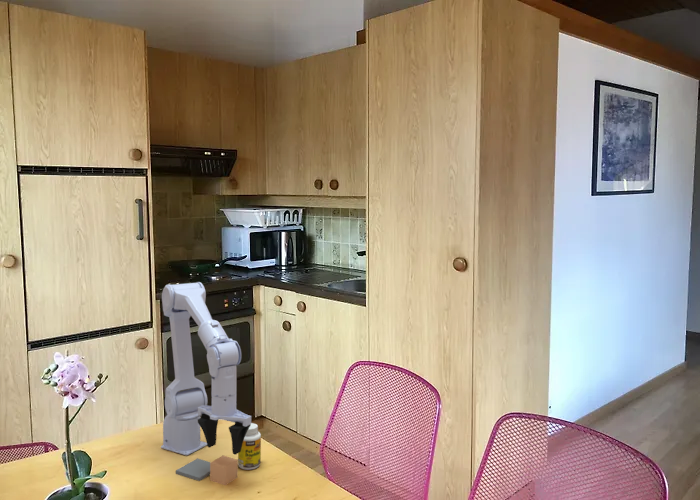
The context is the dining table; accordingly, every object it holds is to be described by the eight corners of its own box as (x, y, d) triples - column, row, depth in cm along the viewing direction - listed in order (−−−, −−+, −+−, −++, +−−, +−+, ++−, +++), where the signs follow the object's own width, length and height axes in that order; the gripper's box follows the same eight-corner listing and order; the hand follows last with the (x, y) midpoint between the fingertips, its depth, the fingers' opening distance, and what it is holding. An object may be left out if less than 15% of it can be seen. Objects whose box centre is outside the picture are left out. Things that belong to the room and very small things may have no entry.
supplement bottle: (243, 472, 140) (243, 432, 139) (234, 463, 144) (234, 424, 144) (264, 467, 143) (264, 427, 142) (255, 458, 148) (255, 420, 147)
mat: (175, 473, 139) (175, 470, 139) (197, 461, 145) (197, 458, 145) (199, 481, 135) (199, 477, 135) (220, 468, 142) (220, 465, 142)
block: (210, 480, 136) (210, 462, 135) (222, 473, 140) (222, 455, 139) (225, 485, 134) (225, 467, 133) (237, 477, 138) (237, 459, 137)
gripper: (188, 392, 135) (188, 448, 136) (237, 403, 128) (237, 462, 129) (209, 384, 141) (209, 438, 142) (256, 394, 134) (256, 451, 135)
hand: (224, 449), depth 136 cm, fingers open, 7 cm apart
